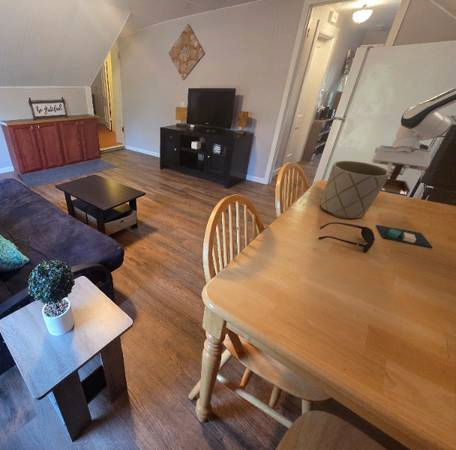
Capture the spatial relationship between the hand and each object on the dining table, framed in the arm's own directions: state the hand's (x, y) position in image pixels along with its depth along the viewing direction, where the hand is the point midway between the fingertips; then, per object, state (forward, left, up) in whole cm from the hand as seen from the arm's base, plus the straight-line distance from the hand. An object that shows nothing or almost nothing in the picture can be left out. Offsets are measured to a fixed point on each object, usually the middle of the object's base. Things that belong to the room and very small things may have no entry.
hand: (395, 173), depth 116 cm
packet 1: (+6, +41, -10) cm, 43 cm away
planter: (+21, +25, -13) cm, 35 cm away
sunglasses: (+24, +52, -13) cm, 59 cm away
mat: (+3, +39, -12) cm, 42 cm away
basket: (+1, +5, -6) cm, 8 cm away
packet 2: (+2, +42, -10) cm, 44 cm away
